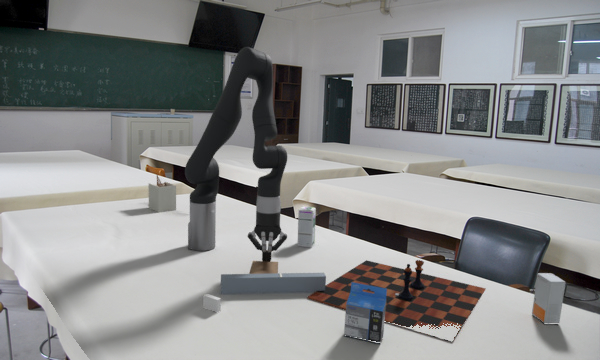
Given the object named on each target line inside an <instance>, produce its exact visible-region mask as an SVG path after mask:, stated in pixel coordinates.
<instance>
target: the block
mask: <svg viewBox="0 0 600 360" xmlns="http://www.w3.org/2000/svg"><path fill="white" fill-rule="evenodd" d="M251 262H252V263H251V266H250V269H249V273H248V274H272V273H279V261H272V260H271V261H262V260H252V261H251Z"/></svg>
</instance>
